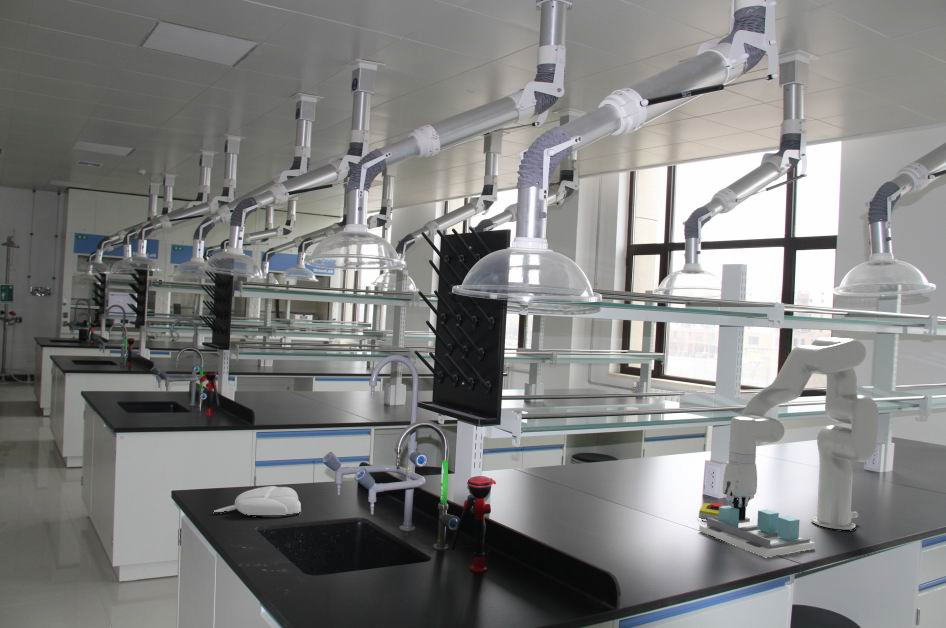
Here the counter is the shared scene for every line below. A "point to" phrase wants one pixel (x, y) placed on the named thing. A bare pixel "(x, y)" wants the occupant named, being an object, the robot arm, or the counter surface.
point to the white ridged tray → (754, 538)
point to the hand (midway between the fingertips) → (739, 519)
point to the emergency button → (710, 511)
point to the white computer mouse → (266, 502)
